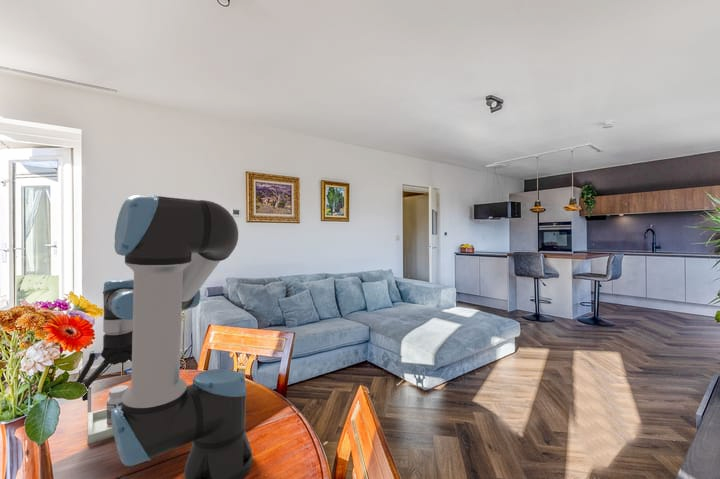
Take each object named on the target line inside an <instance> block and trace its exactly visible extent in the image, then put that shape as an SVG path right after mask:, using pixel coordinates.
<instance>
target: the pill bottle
mask: <svg viewBox="0 0 720 479" xmlns="http://www.w3.org/2000/svg"><path fill="white" fill-rule="evenodd" d="M128 389H129V386H128V385H125V384H124V385H123V384H122V385H116V386H113V387H112V388H110V389H109V390H108V398H107V399H106V408H107V425H108V426H111V427H112V421H111V411H112V410H113V409H114V408H116V407H117V406H122V396H123V394H124V392H125V391H126V390H128Z"/></svg>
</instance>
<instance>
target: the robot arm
mask: <svg viewBox="0 0 720 479" xmlns="http://www.w3.org/2000/svg"><path fill="white" fill-rule="evenodd" d="M238 241H239V228H238V224H237V222H236V220H235V218H234V217H233V215H232V214H231V213H230V212H229V210H227V208H225V207H223V206H222V205H220V204H219V203H216V202H214V201H211V200H204V199H201V200H198V199H189V198H179V197H168V196H161V195H160V196H159V195H155V194H154V195H131V196H129V197H128V198H126V200H124V201H123V203H122V205H121V207H120V210H119V213H118V216H117V220H116V224H115V232H114V246H113V247H114V251H115V253H116V254H117V255H119V256H124V264H125V266H127V267H129V269H131V270H132V271H133V279H130V278H119V279H109V280H106V281H105V282H104V284H103V291H102V294H103V320H102V321H103V322H102V323H103V326H102V328H103V330H102V331H103V333H104V334H103V336H102V339H103V340H102V341H103V342H102V343H103V344H102V347H103V349H102V350H101V351H94V350H91V351H90V352H89V355H88V359H87V362H86V364H85V365H84V366H83V368H82V370H81V372H80V373H79V375H78V377H77V379H76V381H75V382H80V383H83V384H85V386H86V387H87V389H88V392H87V393H86V394H85V395H84V396H82V395H81V396H82V397H81V399H82V401H83V402H85V401H87V414H89V413H90V412H92V384H93V383H94V381H95V380H96V379H97V378H98V377H99V376H100V375H101V374H102V372H103V371H104V370H105V369H106V368H108V367H109V365H114V366H115V365H118V364H124V363H127V362H129V361H130V362H131V376H130V377H131V378H130V379H131V380H130V381H131V384H130V386H129V387H128V390H126V391H125V392H124V394H123V396H122V406H117V407H116V408H114V409H113V410H112V411H111V421H112V428H113V433H114V437H113V438H114V442H115V446H116V450H117V453H118V456H119V459H120V461H121V464H123V465H124V466H126V467H133V466H136V465H139V464H141V463H144V462H146V461H148V462H149V461H152V459H154V458H157V457H159V456H161V455H164V454H166V453H169V452H170V451H173V450H175V449H178V448H180V447H182V446H185V445H187V444H189V443H192V444H191V448H190V450H189V454H188V457H187V458H186V461H185V465H184V470H183V472H184V473H183V475H184V476H183V479H244V478H245V477H246V476H247V474H248V473H249V472H250V470H251V469H252V466H253V450H252V448H251V447H252V446H251V444H250V441H249V439H248V435H247V433H246V410H247V409H246V405H247V404H246V403H247V402H246V401H247V400H246V399H247V387H246V379H245V376H243V374H242V373H241V372H239V371H236V370H233V369H228V368H226V369H225V368H224V369H223V368H217V369H207V370H204V371H201V372H199V373H198V374H196V375H195V376H194V378H193V379H192V384H189V385H188V384H187V382H186V381H185V380H184V379H182V378H181V377H180V376H181V375H180V373H181V372H180V371H181V369H180V367H181V366H180V365H181V342H182V341H181V334H182V314H183V313H182V311H183V310H184V311H185V310H189V309H193V308H196V307H198V305H199V304H200V300H201V291H200V289H201V288H202V286H203V285H204V284H205V283H206V281H207V280H208V279H209V277H210V276H211V274H212V273H213V272H214V270H215V269H216V268H217V266H218V265H219V264H220V262H222V261H225V260H227V259H228V258H229V257H230V256H231V255H232V253H233V252H234V250H235V249H236V247H237V245H238ZM99 357H101V358H102V359H103V361H101V363H100V364H99V366H97V368H96V369H95V370H94V371H93V372H92V373H91V375H90V376H88V377H87V374H88V373H89V371H90V369H91V367H92V366H93V365H94V362H95V361H96V360H99V359H98V358H99ZM86 377H87V379H86V380H85V378H86ZM84 380H85V381H84Z"/></svg>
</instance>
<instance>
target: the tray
mask: <svg viewBox="0 0 720 479" xmlns="http://www.w3.org/2000/svg"><path fill="white" fill-rule="evenodd" d="M87 422H88V424H87V445H91V444H94V443H98V442H101V441H104V440H107V439H111V438H114V433H113V428H112V427H111V426H108V425H107V407H105V408H102V409H99V410H94V411H91V412H89V413H88V419H87Z"/></svg>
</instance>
